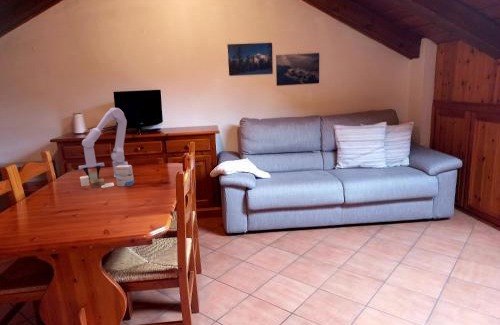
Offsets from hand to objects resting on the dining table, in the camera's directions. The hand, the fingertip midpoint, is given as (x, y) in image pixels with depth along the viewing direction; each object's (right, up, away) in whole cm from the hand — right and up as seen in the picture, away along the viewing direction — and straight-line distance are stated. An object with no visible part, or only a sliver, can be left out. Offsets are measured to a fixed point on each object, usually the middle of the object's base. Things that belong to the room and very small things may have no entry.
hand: (93, 178), depth 216 cm
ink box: (+25, -3, -12) cm, 28 cm away
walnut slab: (+7, -4, -10) cm, 13 cm away
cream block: (-2, -3, -7) cm, 8 cm away
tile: (+14, -4, -12) cm, 18 cm away
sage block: (0, -1, 0) cm, 1 cm away
